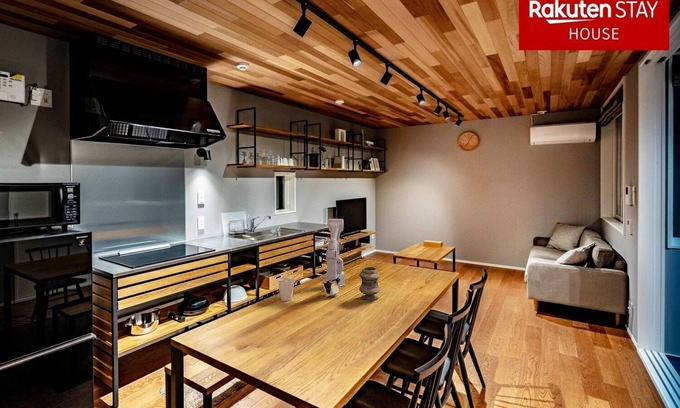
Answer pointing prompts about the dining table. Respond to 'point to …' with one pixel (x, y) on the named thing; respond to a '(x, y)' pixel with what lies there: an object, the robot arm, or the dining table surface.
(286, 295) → the cup
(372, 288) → the apothecary jar
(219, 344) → the dining table surface
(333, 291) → the beige block
